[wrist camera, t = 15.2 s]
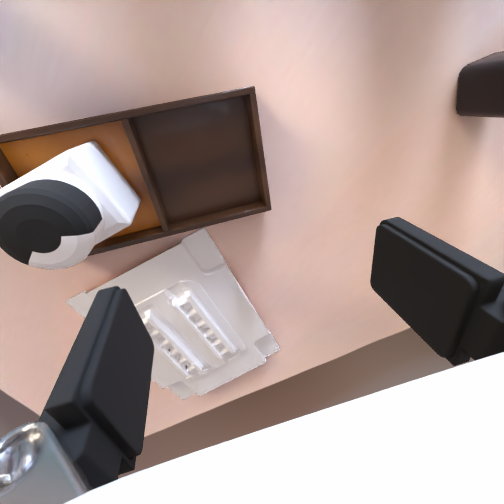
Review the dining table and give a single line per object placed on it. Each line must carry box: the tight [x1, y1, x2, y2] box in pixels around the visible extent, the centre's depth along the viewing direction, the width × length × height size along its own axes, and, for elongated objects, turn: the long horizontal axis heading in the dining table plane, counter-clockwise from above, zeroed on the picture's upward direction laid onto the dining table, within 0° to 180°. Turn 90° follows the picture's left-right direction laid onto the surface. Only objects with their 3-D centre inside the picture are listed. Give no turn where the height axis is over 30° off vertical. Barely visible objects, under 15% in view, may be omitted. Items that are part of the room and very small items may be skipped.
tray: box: [65, 228, 281, 400], centre depth 40 cm, size 20×28×4 cm
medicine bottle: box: [0, 141, 141, 269], centre depth 22 cm, size 7×7×12 cm
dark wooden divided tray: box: [0, 86, 271, 256], centre depth 28 cm, size 13×25×3 cm, turn 100°
